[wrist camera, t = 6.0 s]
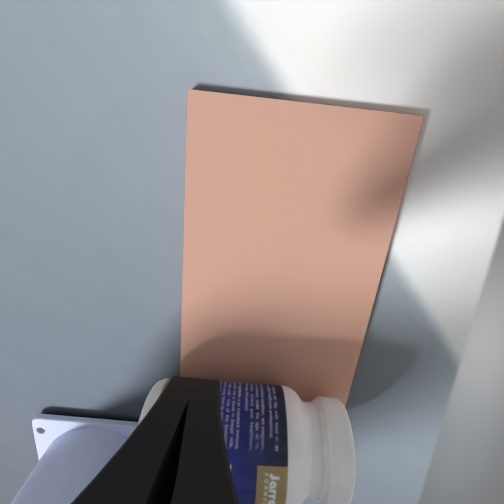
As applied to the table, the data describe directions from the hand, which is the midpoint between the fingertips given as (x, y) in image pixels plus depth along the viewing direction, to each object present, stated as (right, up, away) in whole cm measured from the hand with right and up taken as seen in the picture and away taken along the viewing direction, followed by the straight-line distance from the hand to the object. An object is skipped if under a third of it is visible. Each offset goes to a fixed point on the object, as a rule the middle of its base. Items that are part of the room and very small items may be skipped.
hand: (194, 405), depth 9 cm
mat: (+3, +2, +7) cm, 8 cm away
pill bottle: (-4, -5, +7) cm, 9 cm away
